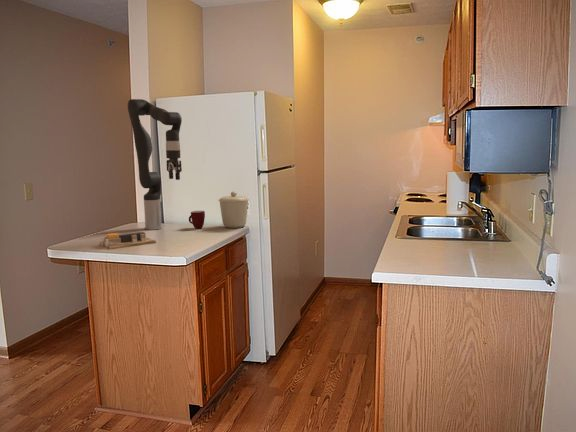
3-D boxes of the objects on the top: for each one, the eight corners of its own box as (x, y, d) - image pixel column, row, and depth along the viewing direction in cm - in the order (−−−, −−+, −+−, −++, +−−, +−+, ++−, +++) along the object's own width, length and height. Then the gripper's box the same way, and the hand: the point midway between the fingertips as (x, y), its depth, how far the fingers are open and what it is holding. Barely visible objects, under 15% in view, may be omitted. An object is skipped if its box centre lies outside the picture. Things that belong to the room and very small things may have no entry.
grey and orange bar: (109, 244, 246) (109, 235, 245) (107, 243, 250) (106, 234, 249) (146, 239, 257) (145, 231, 256) (142, 238, 261) (142, 229, 260)
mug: (185, 229, 294) (184, 212, 292) (192, 226, 301) (191, 210, 300) (201, 229, 290) (200, 212, 289) (207, 227, 298) (207, 210, 296)
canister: (245, 229, 289) (244, 193, 286) (215, 229, 293) (213, 192, 290) (253, 224, 307) (252, 190, 304) (225, 223, 310) (223, 189, 307)
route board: (100, 243, 253) (99, 235, 253) (144, 238, 267) (143, 229, 266) (110, 249, 241) (109, 239, 240) (156, 242, 254) (155, 234, 254)
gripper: (161, 149, 277) (162, 179, 279) (172, 149, 265) (173, 180, 268) (174, 149, 281) (175, 178, 283) (185, 149, 270) (186, 179, 272)
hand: (174, 179), depth 276 cm, fingers open, 8 cm apart
